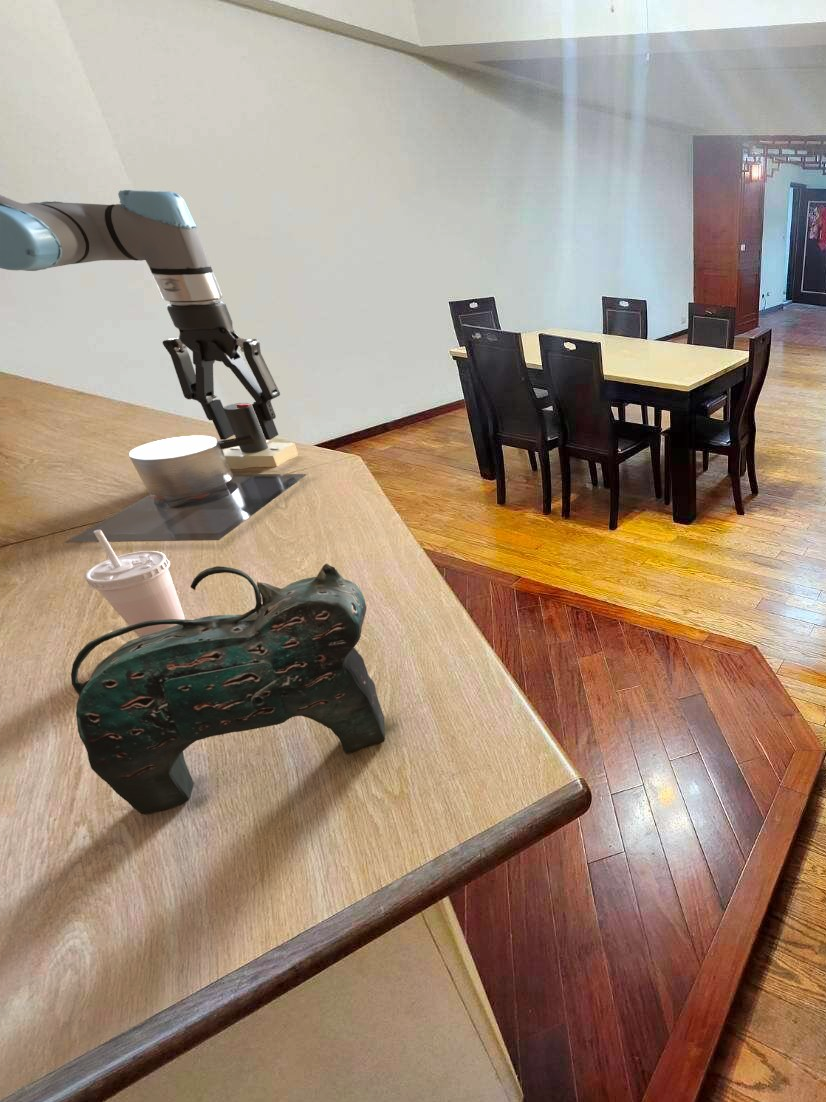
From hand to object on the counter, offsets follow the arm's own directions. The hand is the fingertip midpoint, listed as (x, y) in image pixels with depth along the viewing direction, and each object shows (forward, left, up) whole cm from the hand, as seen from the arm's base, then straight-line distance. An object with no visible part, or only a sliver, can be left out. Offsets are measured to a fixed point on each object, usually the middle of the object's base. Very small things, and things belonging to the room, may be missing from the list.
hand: (250, 436), depth 107 cm
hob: (+2, -19, -5) cm, 20 cm away
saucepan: (-1, -11, -4) cm, 12 cm away
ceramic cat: (+42, -72, -5) cm, 84 cm away
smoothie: (+20, -53, -5) cm, 57 cm away
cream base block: (0, 0, -5) cm, 5 cm away
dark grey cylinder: (0, 0, -2) cm, 2 cm away
